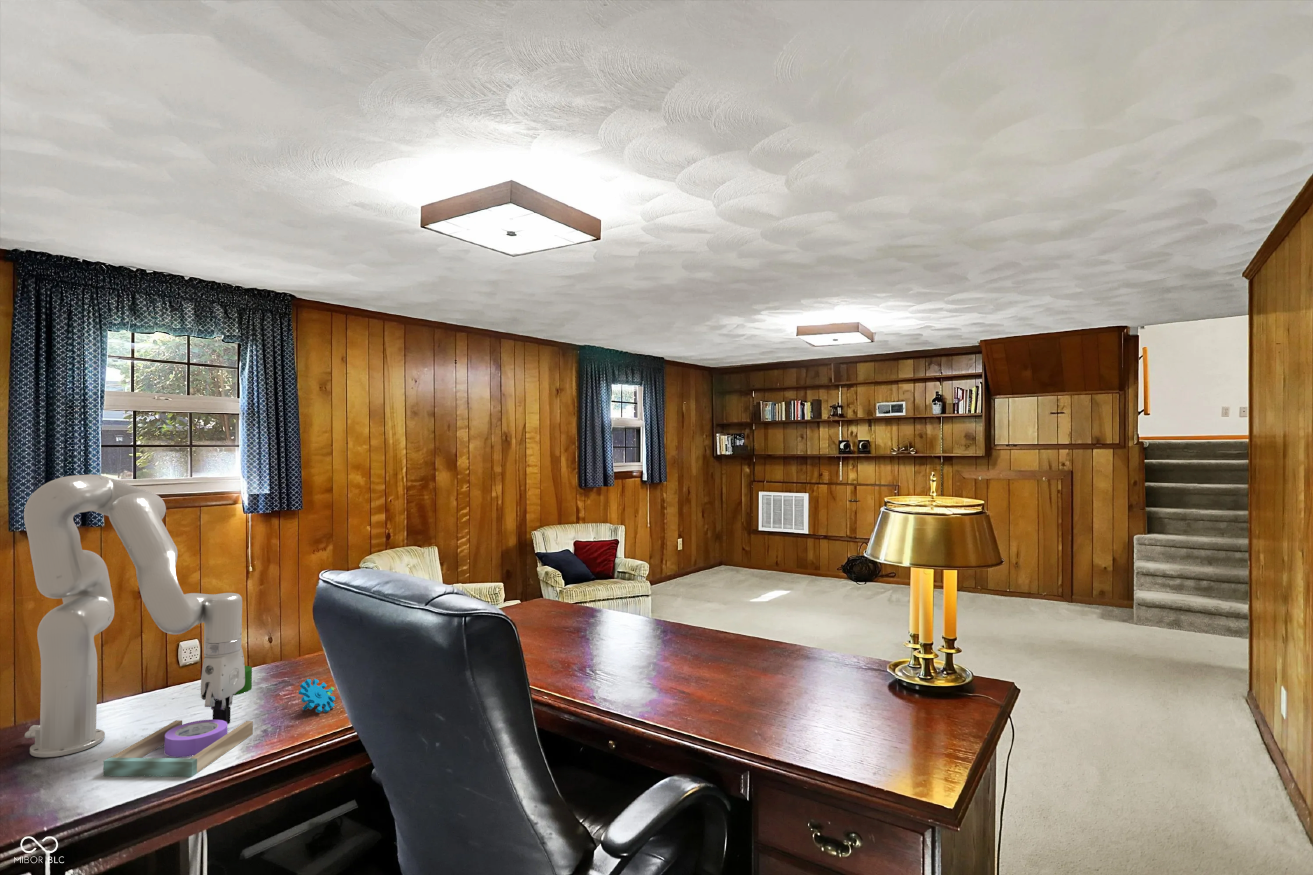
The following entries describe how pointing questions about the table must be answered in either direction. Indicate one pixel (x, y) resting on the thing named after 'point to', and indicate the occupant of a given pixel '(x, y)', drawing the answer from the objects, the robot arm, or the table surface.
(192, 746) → the masking tape
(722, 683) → the table surface
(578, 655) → the table surface
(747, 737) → the table surface
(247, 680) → the candle
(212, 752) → the bay
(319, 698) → the gear
